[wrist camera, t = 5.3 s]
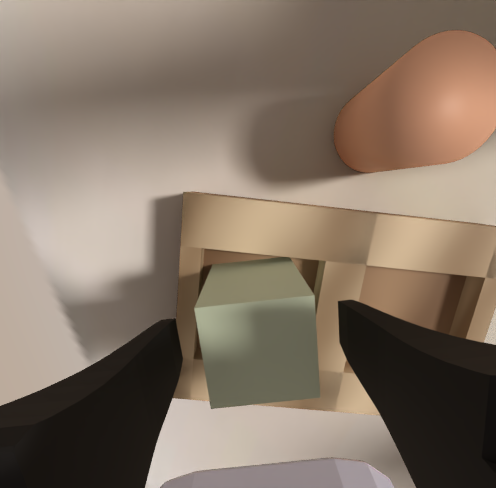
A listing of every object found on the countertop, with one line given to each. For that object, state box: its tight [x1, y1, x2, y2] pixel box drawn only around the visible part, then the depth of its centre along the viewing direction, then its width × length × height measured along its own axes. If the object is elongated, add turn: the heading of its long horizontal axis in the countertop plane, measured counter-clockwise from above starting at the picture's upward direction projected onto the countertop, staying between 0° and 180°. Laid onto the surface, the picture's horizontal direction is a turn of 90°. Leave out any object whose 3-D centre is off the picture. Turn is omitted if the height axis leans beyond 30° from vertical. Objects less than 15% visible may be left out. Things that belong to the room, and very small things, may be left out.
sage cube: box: [194, 257, 320, 409], centre depth 11 cm, size 4×4×5 cm
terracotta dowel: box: [334, 30, 496, 173], centre depth 11 cm, size 4×4×5 cm
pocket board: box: [173, 192, 496, 415], centre depth 14 cm, size 16×11×2 cm
